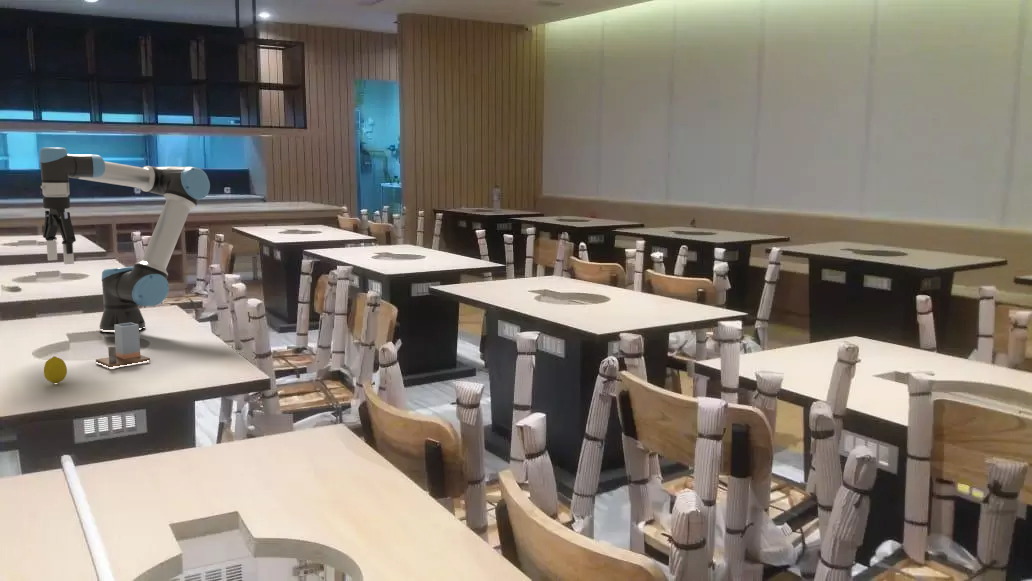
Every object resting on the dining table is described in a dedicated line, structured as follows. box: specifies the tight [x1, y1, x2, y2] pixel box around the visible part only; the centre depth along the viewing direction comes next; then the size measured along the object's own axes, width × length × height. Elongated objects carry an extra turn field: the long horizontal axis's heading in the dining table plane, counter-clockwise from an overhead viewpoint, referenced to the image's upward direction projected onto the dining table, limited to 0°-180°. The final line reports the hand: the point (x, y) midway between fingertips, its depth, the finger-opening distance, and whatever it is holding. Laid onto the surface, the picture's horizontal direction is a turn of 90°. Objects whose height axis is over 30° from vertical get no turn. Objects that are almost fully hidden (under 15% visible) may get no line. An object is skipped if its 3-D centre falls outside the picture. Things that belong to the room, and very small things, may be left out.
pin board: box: [95, 345, 151, 367], centre depth 248 cm, size 12×10×6 cm
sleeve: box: [114, 323, 141, 359], centre depth 251 cm, size 5×5×10 cm
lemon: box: [43, 355, 68, 384], centre depth 224 cm, size 6×6×8 cm
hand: (60, 262), depth 263 cm, fingers open, 13 cm apart
